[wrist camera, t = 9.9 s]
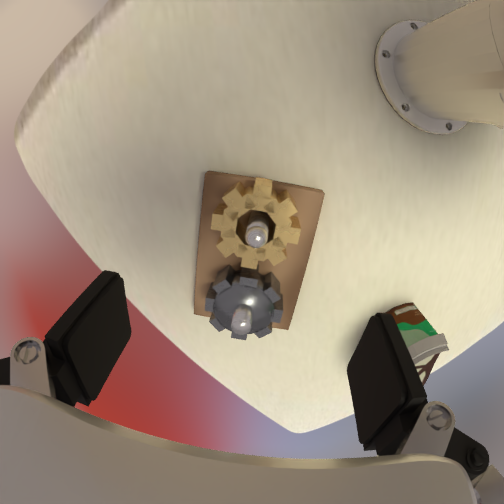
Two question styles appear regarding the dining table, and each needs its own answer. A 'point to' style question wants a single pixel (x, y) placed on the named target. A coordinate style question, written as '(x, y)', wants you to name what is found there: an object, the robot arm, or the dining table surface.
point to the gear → (244, 302)
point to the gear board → (210, 255)
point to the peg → (257, 229)
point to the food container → (419, 338)
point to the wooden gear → (261, 200)
